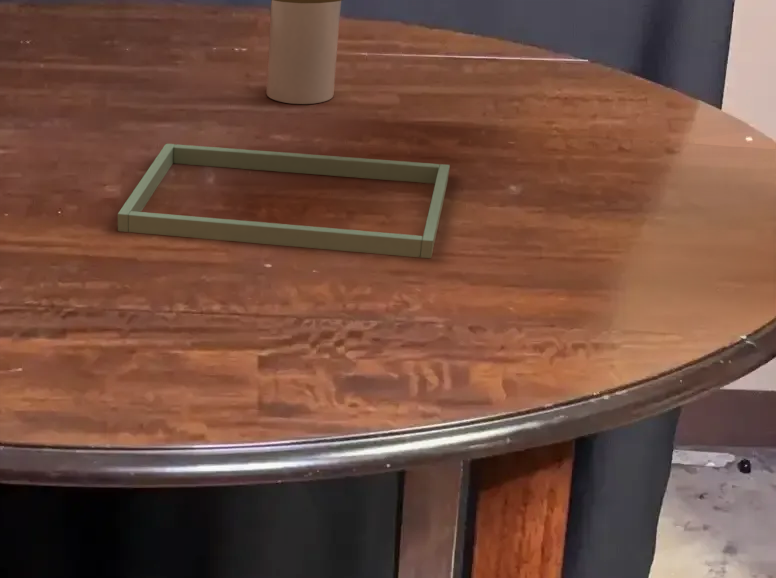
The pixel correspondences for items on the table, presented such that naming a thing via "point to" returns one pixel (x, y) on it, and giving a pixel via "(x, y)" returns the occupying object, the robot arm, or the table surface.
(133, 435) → the table surface
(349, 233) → the sage frame
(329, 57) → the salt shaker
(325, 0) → the cork
